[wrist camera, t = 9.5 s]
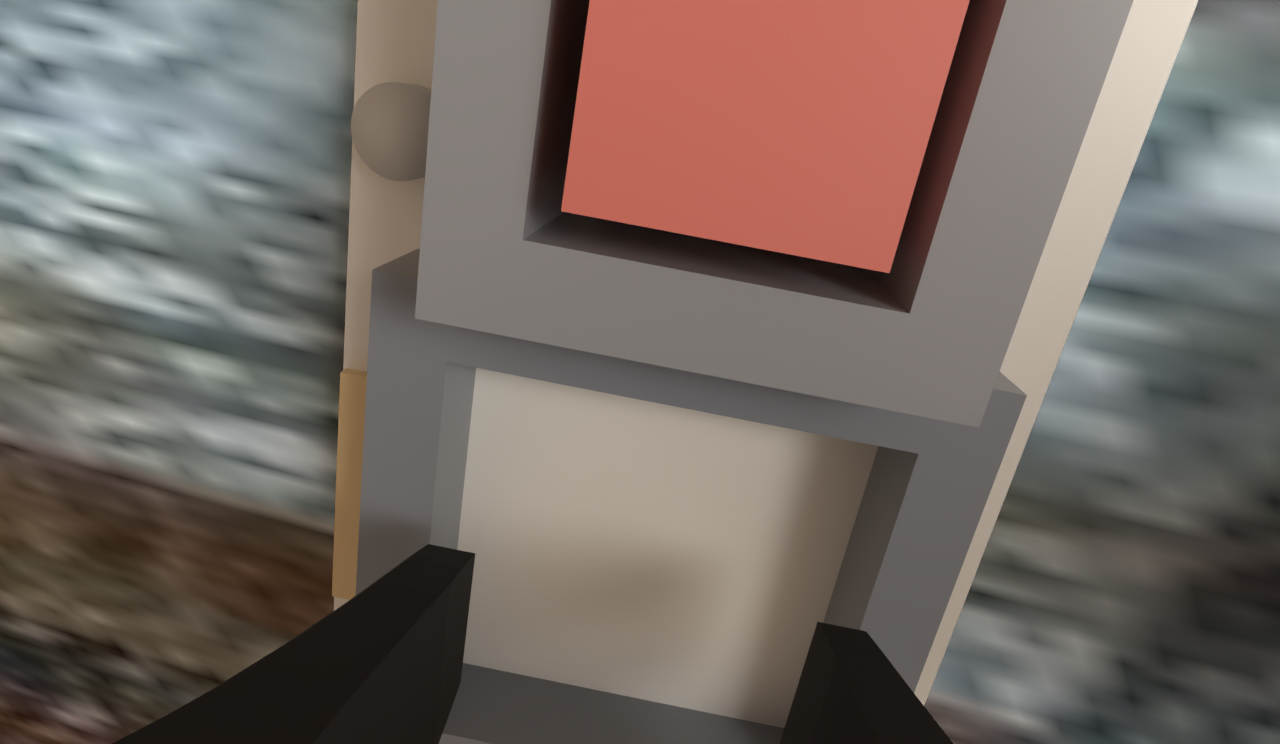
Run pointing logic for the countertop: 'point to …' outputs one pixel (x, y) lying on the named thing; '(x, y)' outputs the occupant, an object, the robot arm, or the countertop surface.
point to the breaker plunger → (760, 119)
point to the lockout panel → (702, 371)
